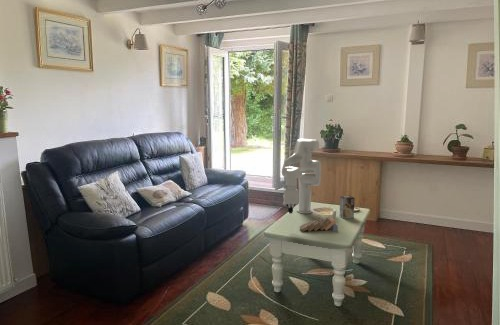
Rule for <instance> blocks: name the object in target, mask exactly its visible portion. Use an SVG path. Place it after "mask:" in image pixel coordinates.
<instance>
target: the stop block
mask: <svg viewBox="0 0 500 325" xmlns="http://www.w3.org/2000/svg"><path fill="white" fill-rule="evenodd" d="M338 226H339V224H337V222H336V223H334V224H333V225H332V226H331V227H330V228H329V229H330V230H332V231H333V232H338V231H339V230H338V228H339V227H338Z"/></svg>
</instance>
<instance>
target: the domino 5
mask: <svg viewBox="0 0 500 325" xmlns="http://www.w3.org/2000/svg"><path fill="white" fill-rule="evenodd" d="M328 219H329V220H330V221H331V222H332V223H330V224H329V225H328V226H327V227H326V228H325V229H324V230H325V231H328V230H329V229H331V228H330V227H331V226H332V225H333V224H334V223H336V224H337V221H336V220H335V219H334V218H333V217H329V218H328Z"/></svg>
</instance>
